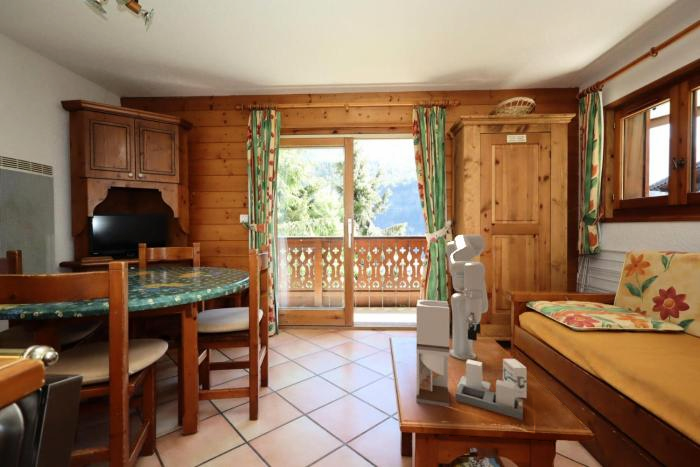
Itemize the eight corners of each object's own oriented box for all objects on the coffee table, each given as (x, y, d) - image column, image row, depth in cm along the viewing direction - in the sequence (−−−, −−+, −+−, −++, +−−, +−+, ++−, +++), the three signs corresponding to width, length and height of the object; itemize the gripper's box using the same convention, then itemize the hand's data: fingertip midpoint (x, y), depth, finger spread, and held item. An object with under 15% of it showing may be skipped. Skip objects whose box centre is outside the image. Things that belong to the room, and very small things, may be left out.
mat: (462, 377, 123) (462, 375, 123) (490, 384, 117) (490, 382, 117) (456, 388, 114) (456, 387, 114) (487, 397, 108) (487, 395, 108)
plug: (467, 381, 119) (467, 359, 119) (482, 384, 116) (482, 362, 116) (465, 385, 115) (465, 362, 116) (480, 389, 113) (480, 366, 113)
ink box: (502, 387, 115) (502, 358, 115) (514, 387, 115) (514, 358, 115) (514, 399, 107) (514, 367, 107) (527, 399, 106) (527, 367, 107)
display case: (416, 401, 105) (416, 305, 105) (417, 387, 115) (417, 299, 115) (449, 406, 102) (449, 307, 102) (447, 391, 112) (447, 301, 112)
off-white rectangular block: (496, 404, 103) (496, 379, 103) (514, 409, 100) (514, 383, 100) (495, 410, 100) (495, 384, 100) (514, 415, 97) (514, 388, 97)
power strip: (460, 391, 112) (460, 382, 112) (523, 408, 101) (523, 398, 101) (455, 401, 105) (455, 392, 105) (522, 421, 94) (522, 410, 94)
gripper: (468, 289, 125) (468, 329, 125) (460, 296, 111) (460, 340, 110) (486, 291, 121) (487, 332, 121) (481, 298, 107) (481, 344, 106)
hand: (474, 336), depth 116 cm, fingers open, 9 cm apart
